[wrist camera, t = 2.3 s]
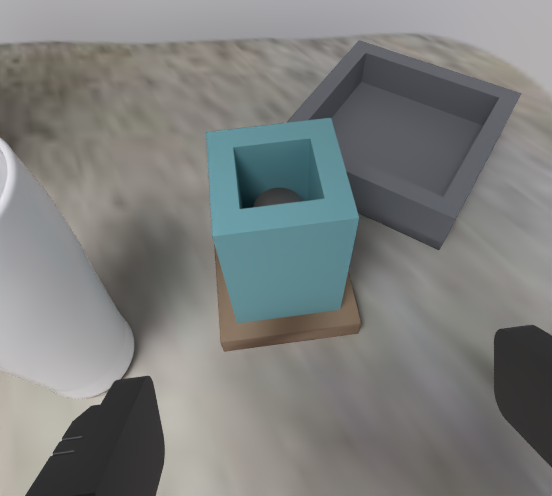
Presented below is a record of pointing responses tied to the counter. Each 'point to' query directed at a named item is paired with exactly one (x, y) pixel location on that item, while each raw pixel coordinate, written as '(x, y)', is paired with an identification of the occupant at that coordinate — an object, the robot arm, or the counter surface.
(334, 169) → the teal sleeve
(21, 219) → the drinking glass
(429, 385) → the counter surface
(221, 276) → the square wooden base
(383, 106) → the charcoal tray
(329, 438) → the counter surface
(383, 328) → the counter surface
